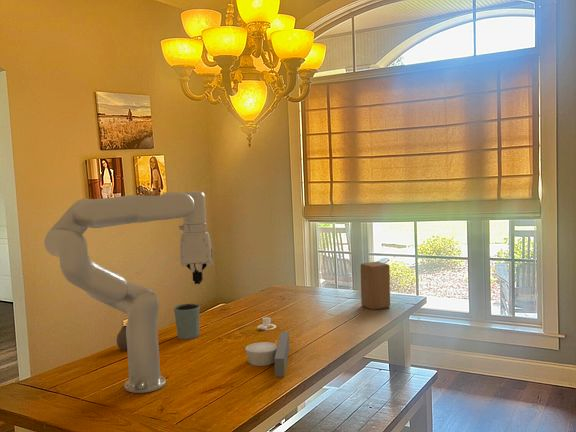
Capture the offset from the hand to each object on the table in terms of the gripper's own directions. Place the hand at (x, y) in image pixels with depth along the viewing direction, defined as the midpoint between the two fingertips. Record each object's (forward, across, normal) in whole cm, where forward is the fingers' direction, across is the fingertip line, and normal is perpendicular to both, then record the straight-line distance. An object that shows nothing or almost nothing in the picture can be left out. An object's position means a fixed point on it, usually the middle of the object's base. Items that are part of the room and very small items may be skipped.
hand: (197, 283), depth 192 cm
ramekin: (+29, +20, +5) cm, 36 cm away
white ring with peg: (+30, +14, +45) cm, 56 cm away
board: (+29, +27, +5) cm, 40 cm away
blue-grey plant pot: (+29, -13, +35) cm, 47 cm away
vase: (+29, -33, +20) cm, 48 cm away
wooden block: (+29, +65, +74) cm, 103 cm away
